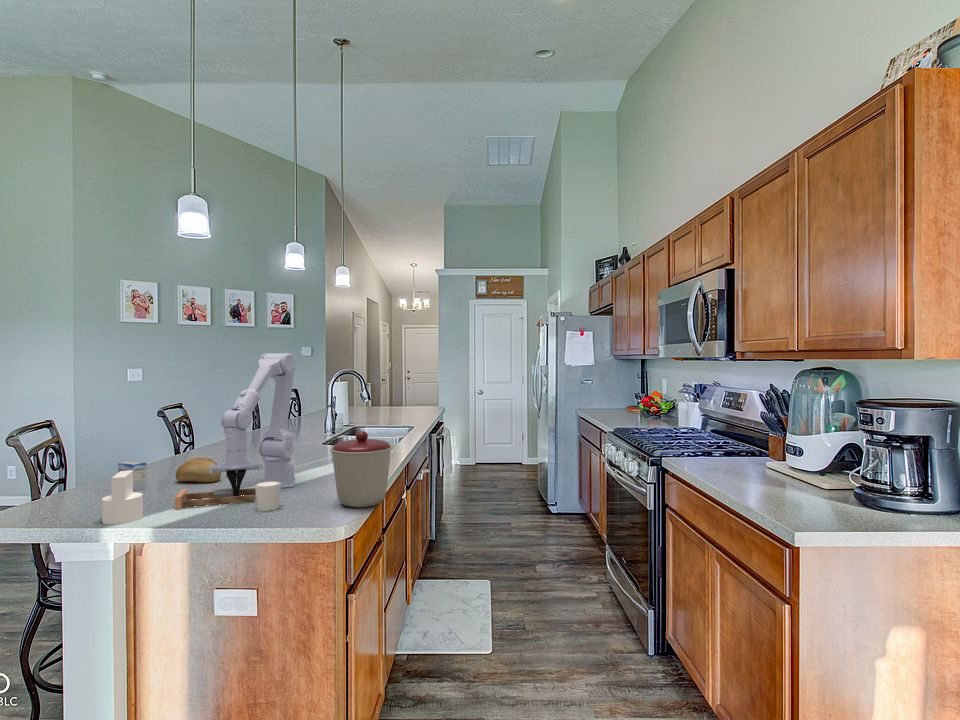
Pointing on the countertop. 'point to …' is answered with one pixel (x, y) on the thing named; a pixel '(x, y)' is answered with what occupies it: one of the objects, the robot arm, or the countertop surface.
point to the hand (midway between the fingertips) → (236, 495)
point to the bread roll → (197, 471)
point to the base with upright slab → (122, 501)
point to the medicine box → (135, 473)
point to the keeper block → (223, 493)
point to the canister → (361, 470)
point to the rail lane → (211, 498)
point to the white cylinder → (268, 495)
